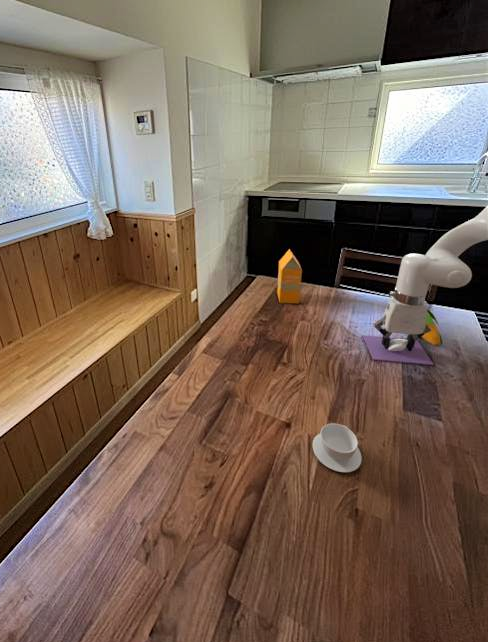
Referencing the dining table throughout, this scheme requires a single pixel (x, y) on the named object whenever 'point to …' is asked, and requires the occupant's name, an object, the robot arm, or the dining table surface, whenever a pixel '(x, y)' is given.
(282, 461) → the dining table surface
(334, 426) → the teacup
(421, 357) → the cloth
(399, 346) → the dumpling
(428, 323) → the corn
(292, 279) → the orange juice
